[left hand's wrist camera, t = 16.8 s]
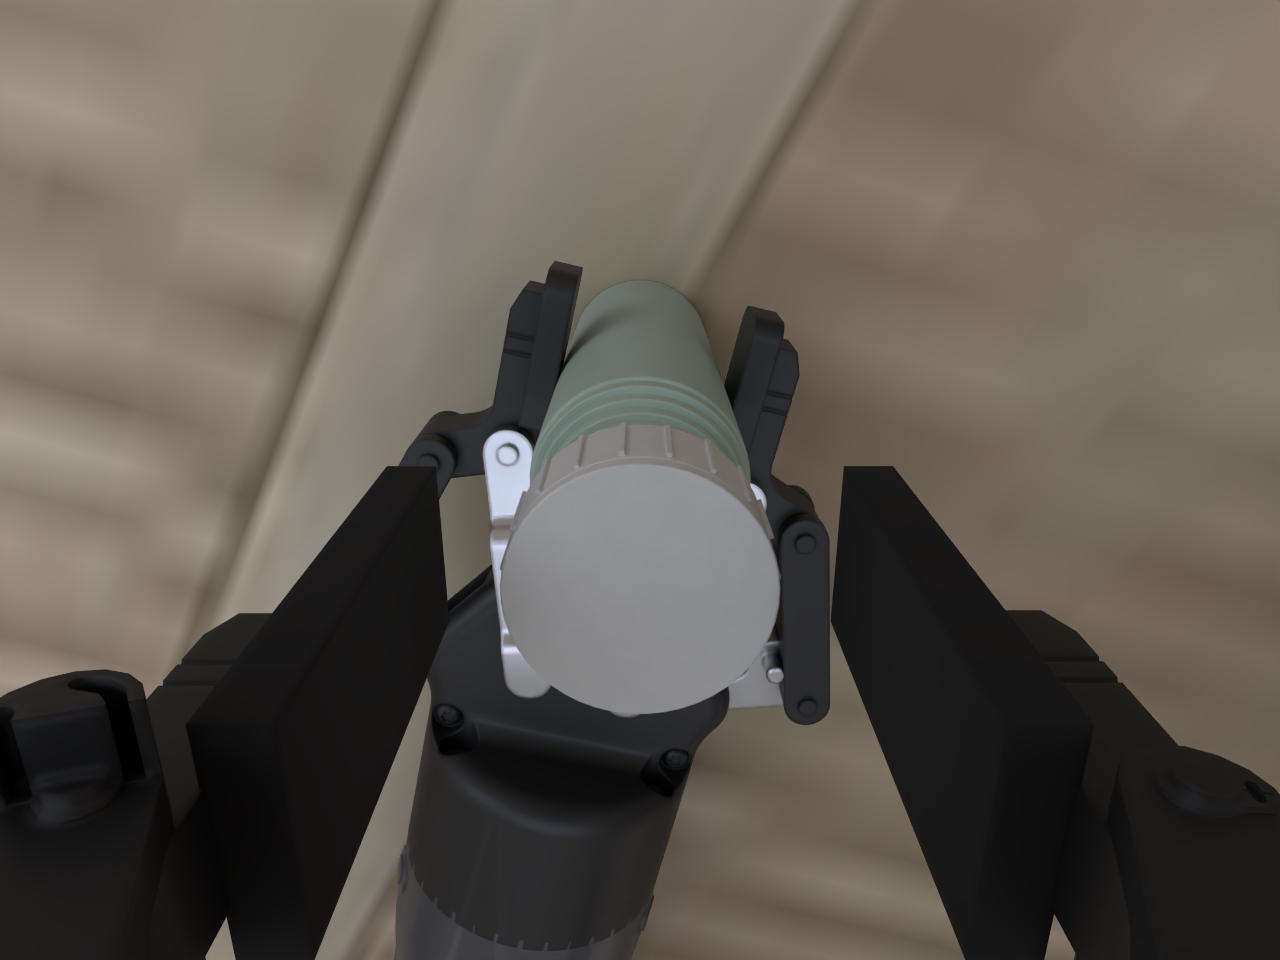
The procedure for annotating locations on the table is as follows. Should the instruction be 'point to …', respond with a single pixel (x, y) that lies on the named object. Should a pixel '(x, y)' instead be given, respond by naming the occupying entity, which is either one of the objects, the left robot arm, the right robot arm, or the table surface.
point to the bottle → (639, 374)
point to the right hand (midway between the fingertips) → (667, 295)
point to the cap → (640, 571)
